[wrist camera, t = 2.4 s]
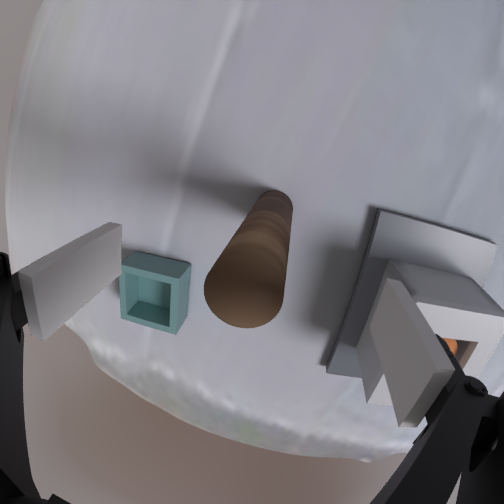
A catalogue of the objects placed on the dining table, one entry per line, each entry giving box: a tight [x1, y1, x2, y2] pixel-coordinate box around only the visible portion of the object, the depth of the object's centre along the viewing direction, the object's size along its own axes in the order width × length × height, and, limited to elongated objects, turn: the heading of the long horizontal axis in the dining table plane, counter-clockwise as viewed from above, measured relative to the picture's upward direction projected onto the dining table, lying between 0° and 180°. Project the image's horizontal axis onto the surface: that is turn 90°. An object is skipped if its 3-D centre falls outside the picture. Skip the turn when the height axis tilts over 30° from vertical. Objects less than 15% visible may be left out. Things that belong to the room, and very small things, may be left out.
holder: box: [119, 251, 191, 335], centre depth 30 cm, size 6×6×4 cm
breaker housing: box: [326, 209, 504, 406], centre depth 24 cm, size 18×14×9 cm
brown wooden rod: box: [204, 190, 293, 328], centre depth 20 cm, size 3×3×16 cm
